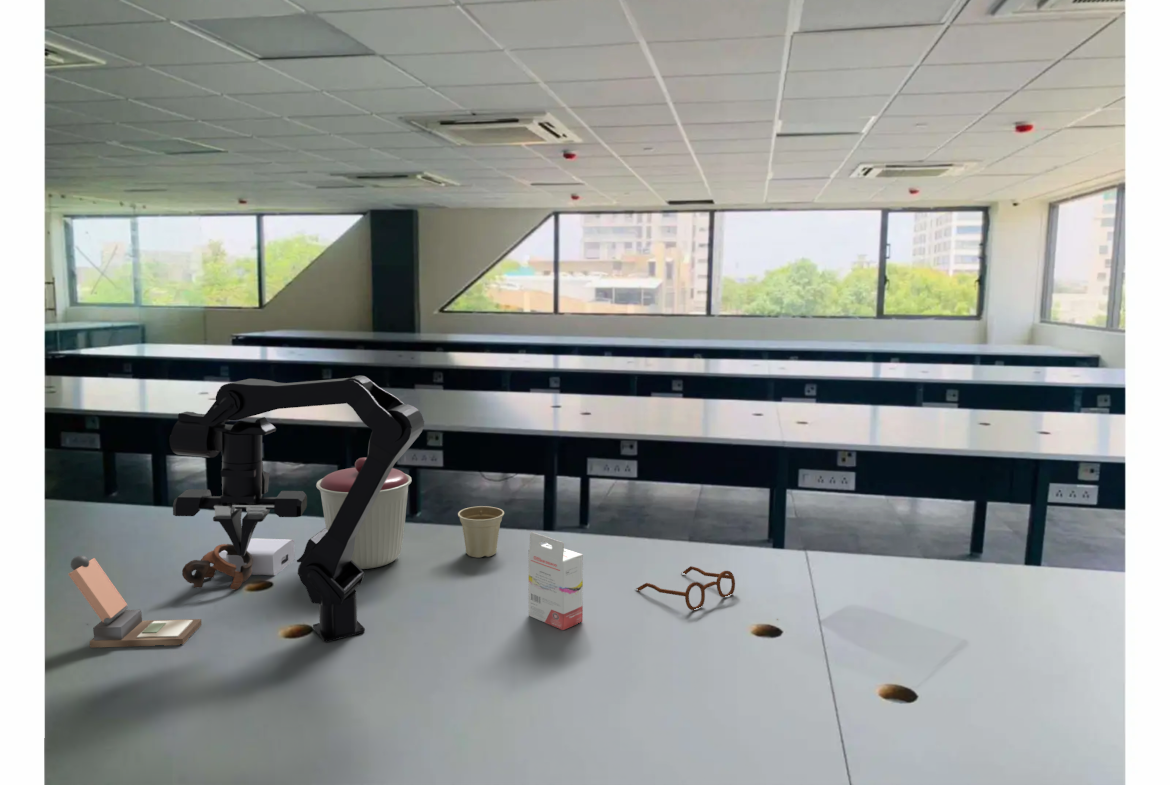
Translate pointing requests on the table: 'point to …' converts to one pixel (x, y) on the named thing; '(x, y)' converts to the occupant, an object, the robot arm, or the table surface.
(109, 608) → the toggle lever
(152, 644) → the switch unit
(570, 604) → the ink cartridge box
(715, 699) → the table surface
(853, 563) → the table surface
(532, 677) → the table surface
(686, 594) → the glasses
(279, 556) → the charger
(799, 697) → the table surface
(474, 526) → the flower pot
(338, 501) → the canister
